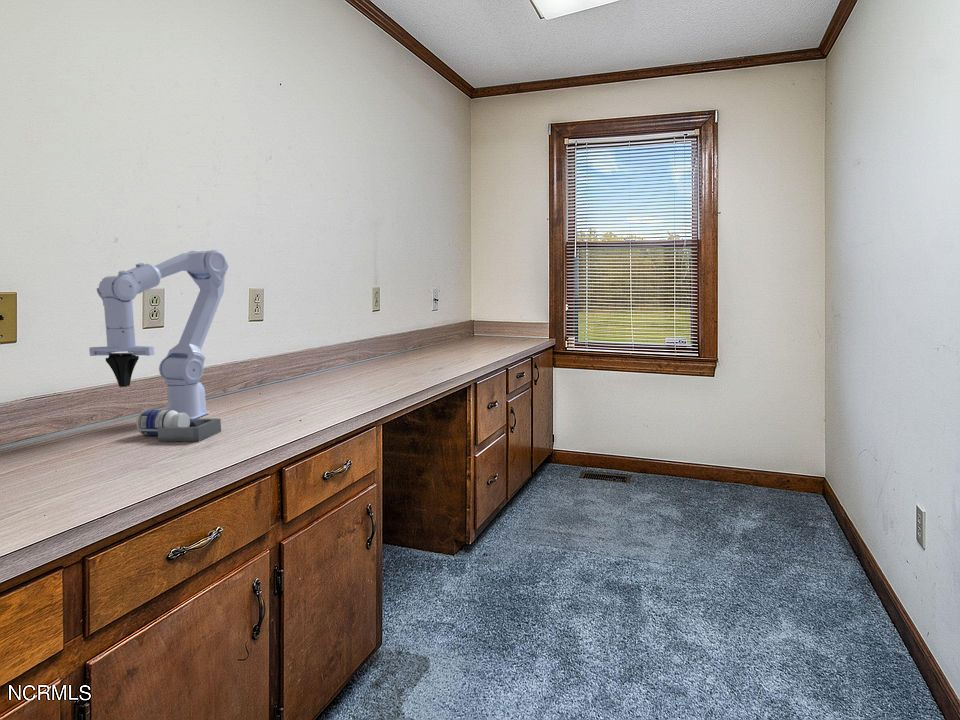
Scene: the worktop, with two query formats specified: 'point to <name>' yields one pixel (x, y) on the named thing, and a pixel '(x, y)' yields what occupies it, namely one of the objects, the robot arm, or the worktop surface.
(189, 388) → the robot arm
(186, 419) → the pill bottle
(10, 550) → the worktop surface
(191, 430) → the metal u-channel bracket
